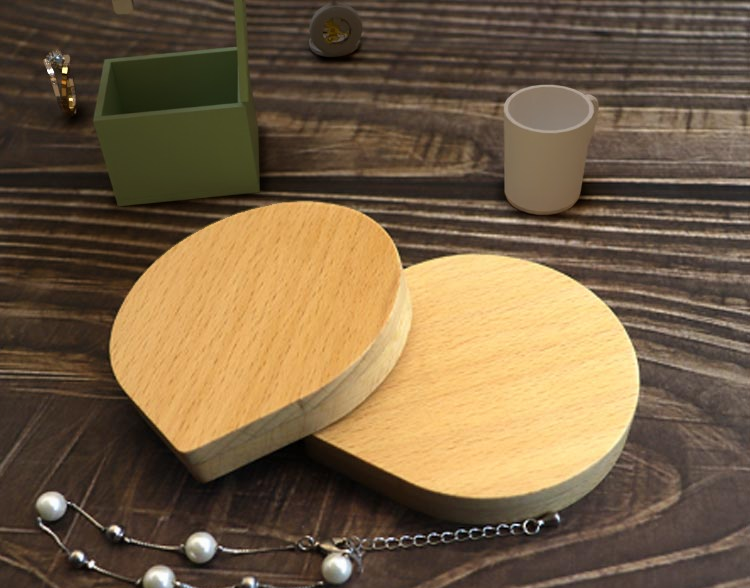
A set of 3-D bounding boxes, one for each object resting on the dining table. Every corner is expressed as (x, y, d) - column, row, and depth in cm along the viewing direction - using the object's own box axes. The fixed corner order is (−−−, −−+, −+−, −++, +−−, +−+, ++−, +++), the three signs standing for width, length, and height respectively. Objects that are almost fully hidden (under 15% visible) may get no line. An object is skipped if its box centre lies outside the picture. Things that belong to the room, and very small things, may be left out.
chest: (117, 206, 111) (92, 120, 103) (126, 142, 120) (104, 59, 112) (259, 192, 112) (245, 106, 104) (258, 129, 120) (245, 45, 113)
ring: (65, 99, 128) (46, 40, 122) (90, 97, 128) (73, 38, 122) (55, 130, 123) (35, 70, 117) (81, 128, 123) (63, 68, 117)
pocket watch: (337, 29, 136) (331, -44, 129) (379, 50, 132) (375, -25, 124) (290, 52, 133) (281, -22, 125) (332, 75, 128) (325, -1, 121)
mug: (535, 229, 105) (541, 143, 97) (483, 187, 110) (485, 103, 103) (616, 191, 108) (628, 106, 101) (562, 152, 114) (570, 69, 106)
